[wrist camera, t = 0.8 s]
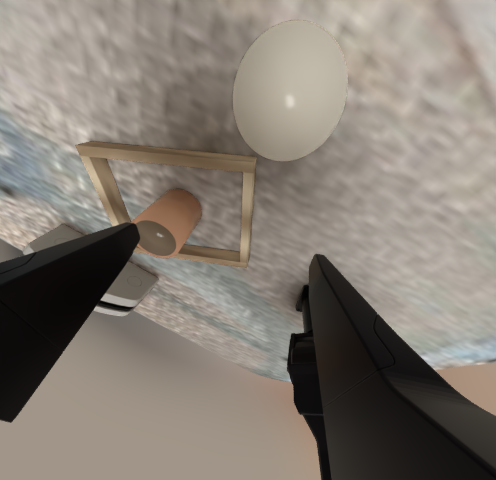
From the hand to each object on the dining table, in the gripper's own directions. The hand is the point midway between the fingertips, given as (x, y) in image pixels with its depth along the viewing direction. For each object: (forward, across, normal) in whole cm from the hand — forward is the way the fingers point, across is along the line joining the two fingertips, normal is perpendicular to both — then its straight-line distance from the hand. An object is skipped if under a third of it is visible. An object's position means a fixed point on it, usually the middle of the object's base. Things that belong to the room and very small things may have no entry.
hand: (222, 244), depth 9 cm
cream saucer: (+13, -2, -6) cm, 14 cm away
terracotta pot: (+13, +9, +6) cm, 17 cm away
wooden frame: (+13, +9, +6) cm, 17 cm away
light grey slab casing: (+13, +22, +18) cm, 31 cm away
